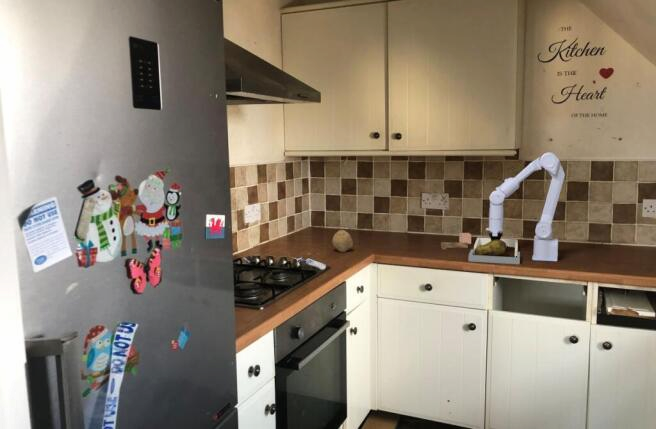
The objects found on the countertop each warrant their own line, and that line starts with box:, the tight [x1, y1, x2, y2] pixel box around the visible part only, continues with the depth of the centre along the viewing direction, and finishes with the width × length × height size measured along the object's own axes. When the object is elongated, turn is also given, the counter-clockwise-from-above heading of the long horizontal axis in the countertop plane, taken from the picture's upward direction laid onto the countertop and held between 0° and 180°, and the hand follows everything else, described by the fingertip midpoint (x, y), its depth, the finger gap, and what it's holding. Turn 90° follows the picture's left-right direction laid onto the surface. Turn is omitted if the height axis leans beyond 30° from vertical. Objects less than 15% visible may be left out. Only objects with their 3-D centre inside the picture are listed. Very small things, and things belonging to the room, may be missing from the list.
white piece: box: [473, 237, 519, 257], centre depth 248 cm, size 18×22×4 cm
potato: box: [474, 239, 507, 256], centre depth 233 cm, size 8×13×8 cm, turn 74°
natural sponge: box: [331, 229, 354, 253], centre depth 249 cm, size 9×9×10 cm
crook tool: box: [440, 241, 469, 250], centre depth 255 cm, size 12×6×2 cm, turn 86°
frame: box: [468, 248, 521, 265], centre depth 231 cm, size 20×13×2 cm, turn 71°
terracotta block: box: [458, 232, 472, 245], centre depth 266 cm, size 4×4×4 cm
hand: (495, 249), depth 237 cm, fingers closed, pressing on potato
